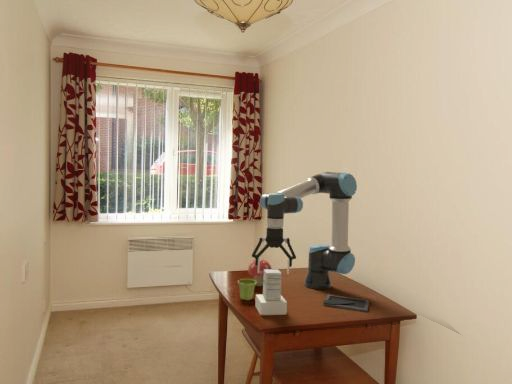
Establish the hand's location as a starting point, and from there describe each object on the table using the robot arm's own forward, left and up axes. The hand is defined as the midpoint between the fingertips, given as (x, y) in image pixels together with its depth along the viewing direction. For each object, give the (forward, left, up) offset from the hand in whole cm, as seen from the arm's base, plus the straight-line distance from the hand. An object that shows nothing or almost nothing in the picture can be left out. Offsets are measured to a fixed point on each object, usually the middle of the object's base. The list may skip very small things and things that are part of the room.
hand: (273, 273), depth 195 cm
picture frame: (-38, -15, -18) cm, 45 cm away
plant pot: (+12, -15, -18) cm, 26 cm away
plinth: (0, 0, -18) cm, 18 cm away
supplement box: (0, 0, -12) cm, 12 cm away
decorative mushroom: (+6, -37, -18) cm, 41 cm away
